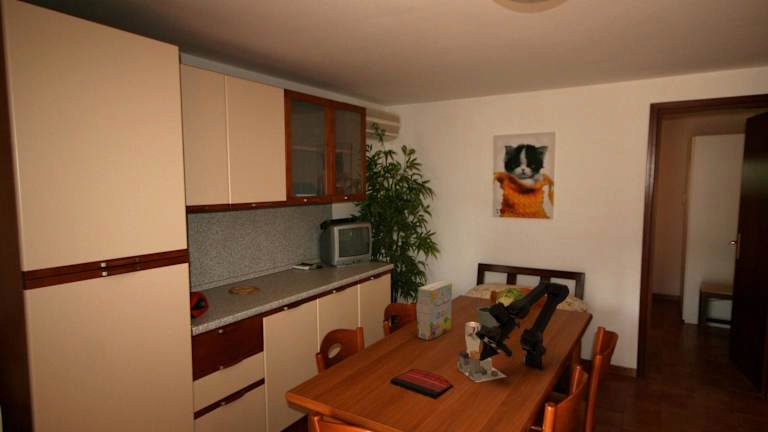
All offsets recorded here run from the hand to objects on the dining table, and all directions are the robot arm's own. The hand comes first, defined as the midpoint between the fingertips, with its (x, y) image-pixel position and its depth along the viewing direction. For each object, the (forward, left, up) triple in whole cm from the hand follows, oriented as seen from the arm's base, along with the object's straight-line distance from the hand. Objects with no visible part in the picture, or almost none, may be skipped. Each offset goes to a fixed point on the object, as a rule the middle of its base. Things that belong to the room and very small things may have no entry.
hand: (480, 360), depth 172 cm
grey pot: (-7, -58, -8) cm, 59 cm away
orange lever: (+2, +1, -5) cm, 6 cm away
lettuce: (-22, -88, -8) cm, 91 cm away
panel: (-1, -4, -8) cm, 9 cm away
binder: (+22, +6, -9) cm, 24 cm away
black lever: (+6, -6, -5) cm, 10 cm away
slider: (-3, -8, -7) cm, 11 cm away
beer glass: (+2, -23, -8) cm, 24 cm away
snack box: (+20, -51, -8) cm, 55 cm away
